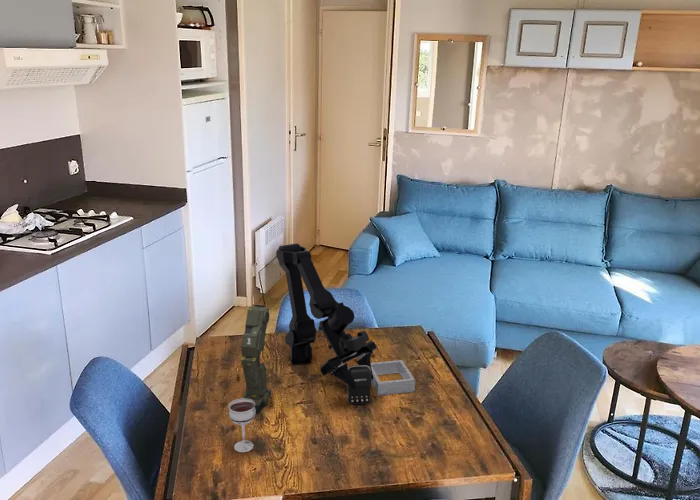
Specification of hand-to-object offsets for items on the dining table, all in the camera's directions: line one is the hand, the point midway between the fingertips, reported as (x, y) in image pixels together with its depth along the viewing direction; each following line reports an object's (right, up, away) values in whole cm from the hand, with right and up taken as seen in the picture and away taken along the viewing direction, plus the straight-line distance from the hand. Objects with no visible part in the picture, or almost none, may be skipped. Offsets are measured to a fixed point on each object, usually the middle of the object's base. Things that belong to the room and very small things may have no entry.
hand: (363, 383), depth 169 cm
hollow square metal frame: (+8, -3, +14) cm, 17 cm away
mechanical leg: (-31, -6, +3) cm, 32 cm away
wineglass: (-31, -12, -17) cm, 38 cm away
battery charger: (-1, -6, +3) cm, 7 cm away
